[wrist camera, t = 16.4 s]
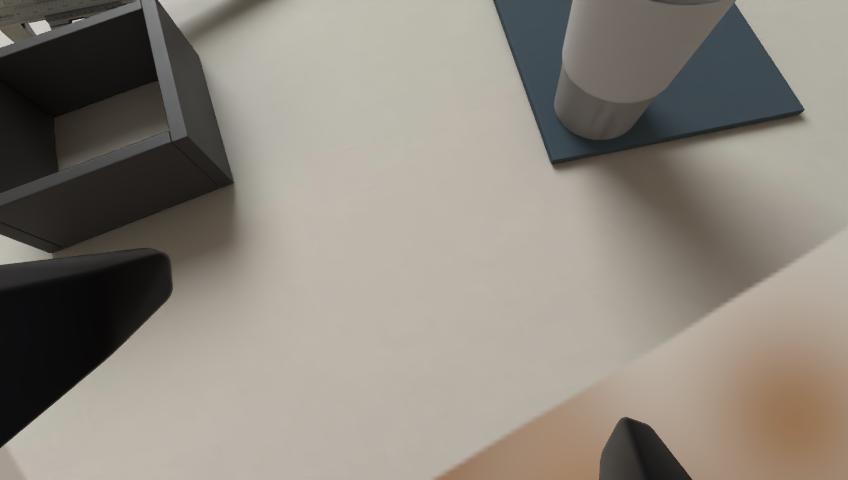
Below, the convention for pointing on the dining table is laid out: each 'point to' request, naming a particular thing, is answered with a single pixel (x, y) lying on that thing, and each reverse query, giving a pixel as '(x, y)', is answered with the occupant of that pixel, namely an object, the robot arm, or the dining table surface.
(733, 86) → the mat
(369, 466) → the dining table surface
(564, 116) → the cup
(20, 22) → the caliper
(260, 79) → the dining table surface
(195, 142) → the holder
